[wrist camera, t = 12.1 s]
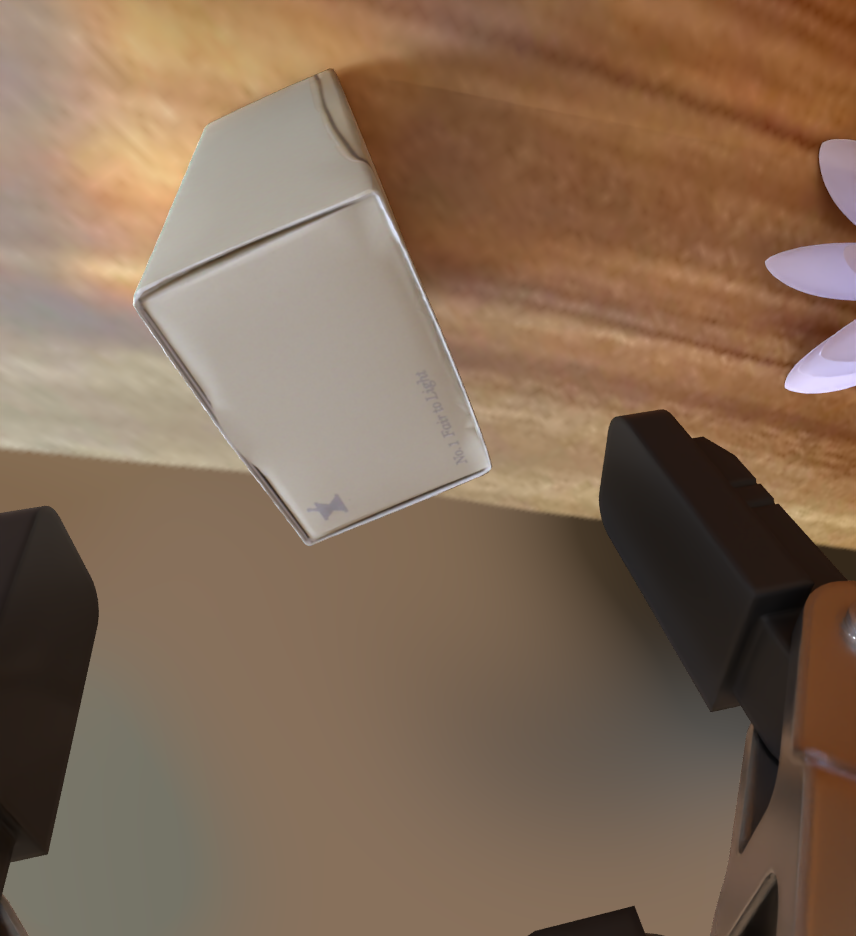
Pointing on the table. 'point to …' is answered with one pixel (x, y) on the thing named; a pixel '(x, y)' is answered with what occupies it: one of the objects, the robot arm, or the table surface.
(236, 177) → the cosmetic box
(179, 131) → the table surface
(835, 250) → the water lily
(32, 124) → the table surface
